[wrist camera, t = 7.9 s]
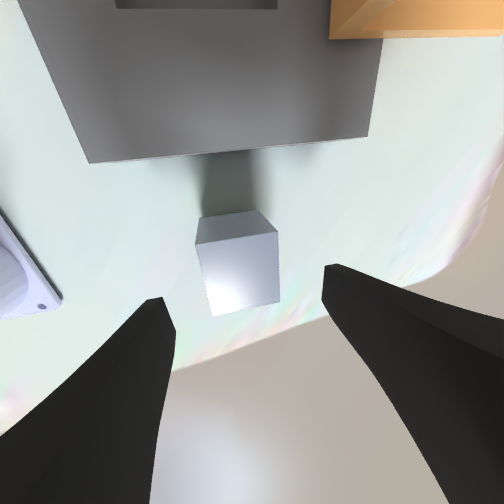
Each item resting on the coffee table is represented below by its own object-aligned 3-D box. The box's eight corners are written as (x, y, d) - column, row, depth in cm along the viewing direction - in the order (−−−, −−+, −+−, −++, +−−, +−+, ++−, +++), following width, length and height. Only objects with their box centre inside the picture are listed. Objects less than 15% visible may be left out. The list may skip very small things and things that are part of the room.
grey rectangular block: (211, 268, 15) (212, 316, 11) (199, 214, 13) (195, 244, 9) (259, 260, 16) (279, 301, 11) (254, 207, 14) (277, 231, 9)
